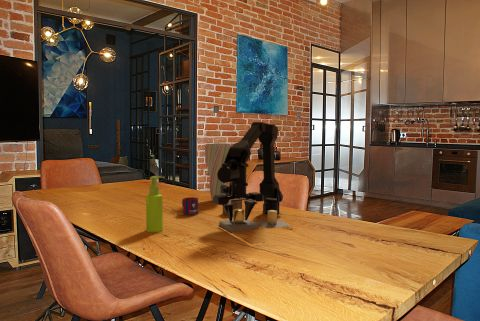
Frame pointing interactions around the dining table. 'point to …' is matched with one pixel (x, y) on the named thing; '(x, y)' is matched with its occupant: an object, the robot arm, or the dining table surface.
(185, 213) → the mug
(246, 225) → the socket board
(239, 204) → the box
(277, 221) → the board
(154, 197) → the soap dispenser
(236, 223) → the pin
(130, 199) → the dining table surface
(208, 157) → the vase
